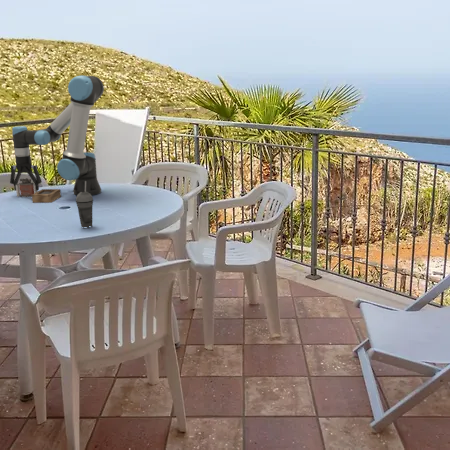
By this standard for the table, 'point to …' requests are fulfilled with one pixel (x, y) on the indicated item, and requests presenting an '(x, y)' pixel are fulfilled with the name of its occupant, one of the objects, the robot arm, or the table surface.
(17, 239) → the table surface
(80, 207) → the beverage cup
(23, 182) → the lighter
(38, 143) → the robot arm
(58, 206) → the table surface
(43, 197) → the shallow wooden box
